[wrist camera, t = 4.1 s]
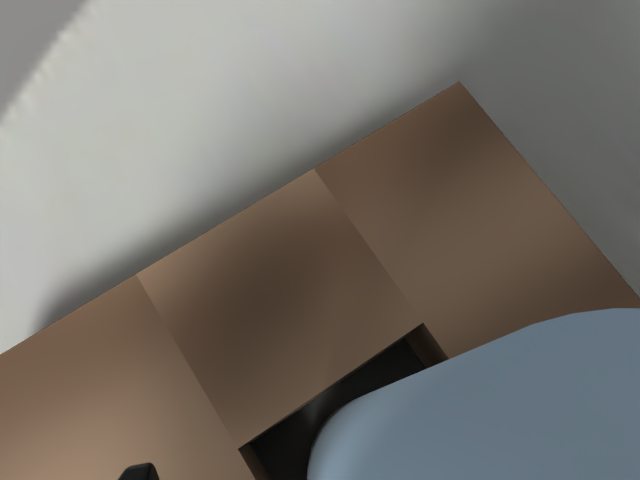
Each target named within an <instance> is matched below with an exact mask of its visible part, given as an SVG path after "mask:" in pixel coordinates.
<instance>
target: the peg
mask: <svg viewBox="0 0 640 480" xmlns="http://www.w3.org/2000/svg"><path fill="white" fill-rule="evenodd" d="M307 480H640V308H612V309H604V310H596V311H588V312H580V313H572V314H569V315H565V316H561V317H558V318H554V319H550V320H546V321H543V322H539V323H535V324H532V325H529V326H527V327H525V328H522V329H520V330H518V331H515V332H513V333H510V334H508V335H506V336H503V337H501V338H499V339H496V340H494V341H491V342H489V343H487V344H484V345H482V346H480V347H477V348H475V349H472V350H470V351H468V352H465V353H463V354H461V355H458V356H456V357H453V358H451V359H449V360H446V361H444V362H442V363H439V364H437V365H434V366H432V367H430V368H427V369H425V370H423V371H420V372H418V373H415V374H413V375H411V376H408V377H406V378H404V379H401V380H399V381H396V382H394V383H392V384H389V385H387V386H385V387H382V388H380V389H378V390H375V391H373V392H370V393H368V394H366V395H363V396H361V397H359V398H356V399H354V400H351V401H349V402H347V403H346V404H344V405H342V406H341V407H339V408H338V409H337V410H336V411H334V412H333V413H332V414H331V415H330V416H329V417H328V418H327V419H326V421H325V422H324V423H323V425H322V426H321V427H320V429H319V431H318V433H317V434H316V436H315V438H314V441H313V443H312V446H311V449H310V453H309V458H308V465H307Z"/></svg>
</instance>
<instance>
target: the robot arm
mask: <svg viewBox="0 0 640 480" xmlns="http://www.w3.org/2000/svg"><path fill="white" fill-rule="evenodd" d="M118 480H160V479H159V476H158V473H157V470H156V468H155V466H154V465H153V463H150V462H147V463H142V464H137V465H132V466H129V467H127V468H126V469H125V470H124V471H123V473H122V474H121V476H120V477H119V478H118Z"/></svg>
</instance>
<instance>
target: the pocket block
mask: <svg viewBox="0 0 640 480" xmlns="http://www.w3.org/2000/svg"><path fill="white" fill-rule="evenodd" d="M612 308H640V298H639V297H638V296H637V295H636V293H635V292H634V291H633V290H632V289H631V287H630V286H629V285H628V284H627V283H626V281H625V280H624V279H623V278H622V276H621V275H620V274H619V273H618V272H617V270H616V269H615V268H614V267H613V266H612V264H611V263H610V262H609V261H608V260H607V258H606V257H605V256H604V255H603V254H602V252H601V251H600V250H599V249H598V248H597V246H596V245H595V244H594V243H593V242H592V240H591V239H590V238H589V237H588V236H587V234H586V233H585V232H584V231H583V230H582V228H581V227H580V226H579V225H578V224H577V222H576V221H575V220H574V219H573V217H572V216H571V215H570V214H569V213H568V211H567V210H566V209H565V208H564V207H563V205H562V204H561V203H560V202H559V201H558V199H557V198H556V197H555V196H554V195H553V193H552V192H551V191H550V190H549V189H548V187H547V186H546V185H545V184H544V183H543V181H542V180H541V179H540V178H539V177H538V175H537V174H536V173H535V172H534V171H533V169H532V168H531V167H530V166H529V165H528V163H527V162H526V161H525V160H524V159H523V157H522V156H521V155H520V154H519V152H518V151H517V150H516V149H515V148H514V146H513V145H512V144H511V143H510V142H509V140H508V139H507V138H506V137H505V136H504V134H503V133H502V132H501V131H500V130H499V128H498V127H497V126H496V125H495V124H494V122H493V121H492V120H491V119H490V118H489V116H488V115H487V114H486V113H485V112H484V110H483V109H482V108H481V107H480V106H479V104H478V103H477V102H476V101H475V100H474V98H473V97H472V96H471V95H470V93H469V92H468V91H467V90H466V89H465V87H464V86H463V85H462V84H461V83H460V81H459V82H457V83H456V84H454V85H452V86H451V87H449V88H447V89H446V90H444V91H442V92H441V93H439V94H437V95H436V96H434V97H432V98H431V99H429V100H427V101H426V102H424V103H422V104H421V105H419V106H417V107H415V108H414V109H412V110H410V111H409V112H407V113H405V114H404V115H402V116H400V117H399V118H397V119H395V120H394V121H392V122H390V123H389V124H387V125H385V126H384V127H382V128H380V129H379V130H377V131H375V132H373V133H372V134H370V135H368V136H367V137H365V138H363V139H362V140H360V141H358V142H357V143H355V144H353V145H352V146H350V147H348V148H347V149H345V150H343V151H342V152H340V153H338V154H337V155H335V156H333V157H332V158H330V159H328V160H326V161H325V162H323V163H321V164H320V165H318V166H316V167H315V168H313V169H311V170H310V171H308V172H306V173H305V174H303V175H301V176H300V177H298V178H296V179H295V180H293V181H291V182H290V183H288V184H286V185H285V186H283V187H281V188H279V189H278V190H276V191H274V192H273V193H271V194H269V195H268V196H266V197H264V198H263V199H261V200H259V201H258V202H256V203H254V204H253V205H251V206H249V207H248V208H246V209H244V210H243V211H241V212H239V213H237V214H236V215H234V216H232V217H231V218H229V219H227V220H226V221H224V222H222V223H221V224H219V225H217V226H216V227H214V228H212V229H211V230H209V231H207V232H206V233H204V234H202V235H201V236H199V237H197V238H196V239H194V240H192V241H190V242H189V243H187V244H185V245H184V246H182V247H180V248H179V249H177V250H175V251H174V252H172V253H170V254H169V255H167V256H165V257H164V258H162V259H160V260H159V261H157V262H155V263H154V264H152V265H150V266H148V267H147V268H145V269H143V270H142V271H140V272H138V273H137V274H135V275H133V276H132V277H130V278H128V279H127V280H125V281H123V282H122V283H120V284H118V285H117V286H115V287H113V288H112V289H110V290H108V291H107V292H105V293H103V294H101V295H100V296H98V297H96V298H95V299H93V300H91V301H90V302H88V303H86V304H85V305H83V306H81V307H80V308H78V309H76V310H75V311H73V312H71V313H70V314H68V315H66V316H65V317H63V318H61V319H59V320H58V321H56V322H54V323H53V324H51V325H49V326H48V327H46V328H44V329H43V330H41V331H39V332H38V333H36V334H34V335H33V336H31V337H29V338H28V339H26V340H24V341H23V342H21V343H19V344H18V345H16V346H14V347H12V348H11V349H9V350H7V351H6V352H4V353H2V354H1V355H0V480H118V478H119V477H120V476H121V474H122V473H123V471H124V470H125V469H126V468H127V467H129V466H132V465H137V464H142V463H147V462H150V463H153V465H154V466H155V468H156V470H157V473H158V476H159V479H160V480H271V479H270V477H269V476H268V474H267V472H266V470H265V469H264V467H263V465H262V464H261V462H260V460H259V459H258V457H257V455H256V453H255V452H254V450H253V448H252V447H251V445H250V443H251V442H253V441H254V440H256V439H257V438H259V437H260V436H262V435H263V434H265V433H266V432H268V431H269V430H270V429H272V428H273V427H275V426H276V425H278V424H279V423H281V422H282V421H284V420H285V419H287V418H288V417H290V416H291V415H292V414H294V413H295V412H297V411H298V410H300V409H301V408H303V407H304V406H306V405H307V404H309V403H310V402H311V401H313V400H314V399H316V398H317V397H319V396H320V395H322V394H323V393H325V392H326V391H328V390H329V389H330V388H332V387H333V386H335V385H336V384H338V383H339V382H341V381H342V380H344V379H345V378H347V377H348V376H350V375H351V374H352V373H354V372H355V371H357V370H358V369H360V368H361V367H363V366H364V365H366V364H367V363H369V362H370V361H371V360H373V359H374V358H376V357H377V356H379V355H380V354H382V353H383V352H385V351H386V350H388V349H389V348H391V347H392V346H393V345H395V344H396V343H398V342H399V341H401V340H402V339H404V338H405V339H406V341H407V342H408V344H409V345H410V347H411V348H412V349H413V351H414V352H415V354H416V355H417V357H418V358H419V359H420V361H421V362H422V364H423V365H424V367H425V368H426V369H427V368H430V367H432V366H434V365H437V364H439V363H442V362H444V361H446V360H449V359H451V358H453V357H456V356H458V355H461V354H463V353H465V352H468V351H470V350H472V349H475V348H477V347H480V346H482V345H484V344H487V343H489V342H491V341H494V340H496V339H499V338H501V337H503V336H506V335H508V334H510V333H513V332H515V331H518V330H520V329H522V328H525V327H527V326H529V325H532V324H535V323H539V322H543V321H546V320H550V319H554V318H558V317H561V316H565V315H569V314H572V313H580V312H588V311H596V310H604V309H612Z"/></svg>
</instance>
